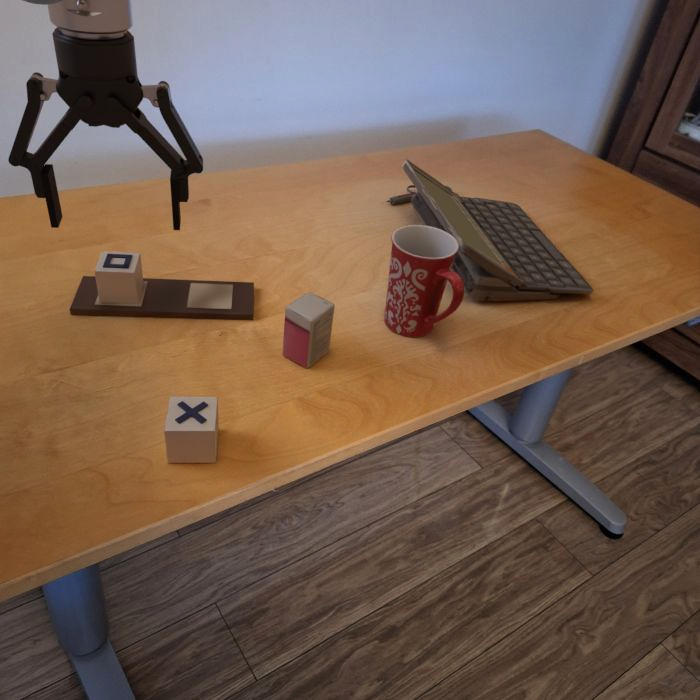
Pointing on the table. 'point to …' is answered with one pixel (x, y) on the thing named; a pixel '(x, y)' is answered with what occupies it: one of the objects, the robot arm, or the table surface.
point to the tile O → (119, 277)
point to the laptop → (494, 245)
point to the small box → (307, 329)
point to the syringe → (405, 196)
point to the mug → (420, 279)
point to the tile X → (192, 429)
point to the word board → (172, 300)
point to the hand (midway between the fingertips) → (118, 223)
